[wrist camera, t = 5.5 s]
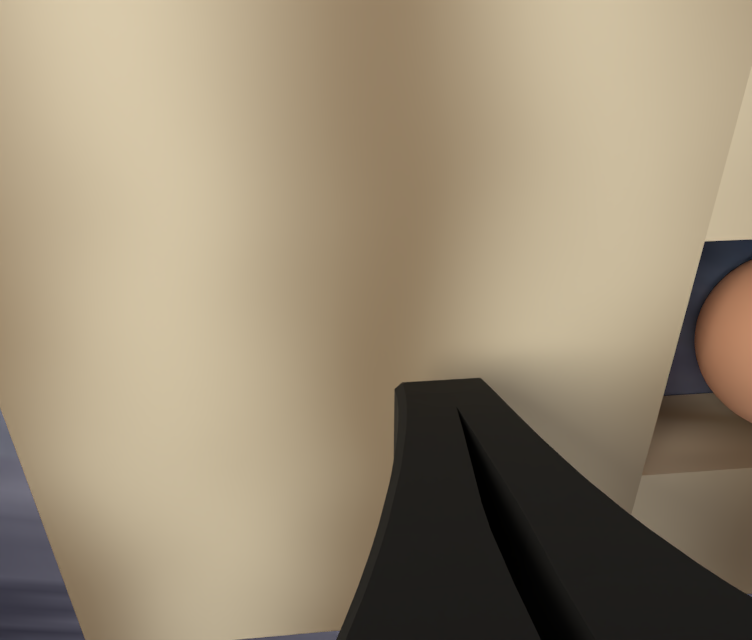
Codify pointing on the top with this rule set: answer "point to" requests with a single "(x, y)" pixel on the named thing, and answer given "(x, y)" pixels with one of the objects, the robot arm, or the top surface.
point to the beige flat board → (351, 276)
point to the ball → (728, 340)
